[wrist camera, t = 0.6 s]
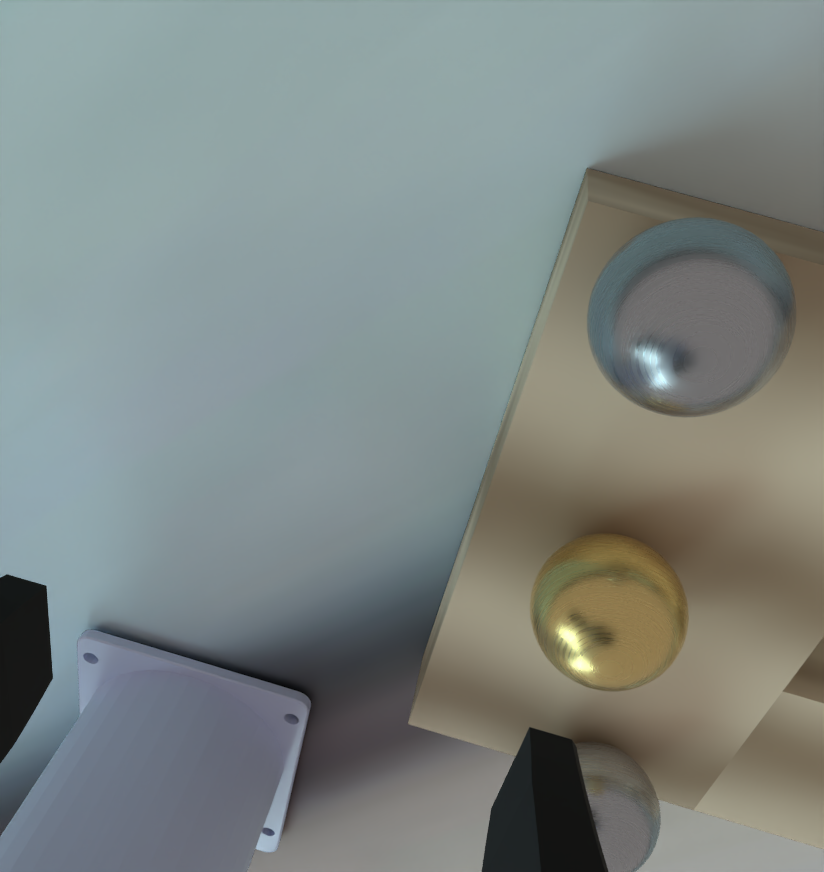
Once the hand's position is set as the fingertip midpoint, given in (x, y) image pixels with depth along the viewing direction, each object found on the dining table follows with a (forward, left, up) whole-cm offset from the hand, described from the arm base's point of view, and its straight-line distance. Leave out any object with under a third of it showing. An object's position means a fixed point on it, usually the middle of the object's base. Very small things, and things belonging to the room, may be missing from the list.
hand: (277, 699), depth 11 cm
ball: (-1, -6, -5) cm, 8 cm away
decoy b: (+5, -5, -5) cm, 9 cm away
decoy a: (-8, -8, -5) cm, 12 cm away
